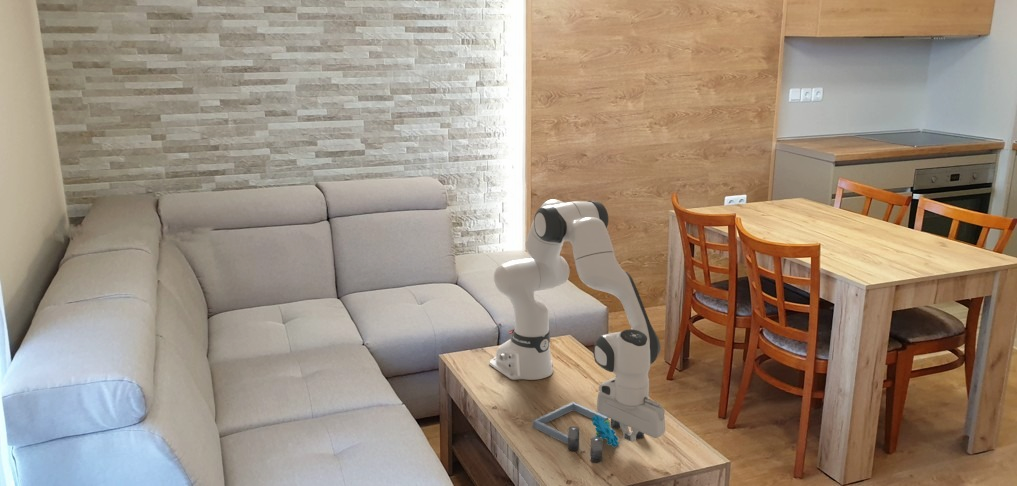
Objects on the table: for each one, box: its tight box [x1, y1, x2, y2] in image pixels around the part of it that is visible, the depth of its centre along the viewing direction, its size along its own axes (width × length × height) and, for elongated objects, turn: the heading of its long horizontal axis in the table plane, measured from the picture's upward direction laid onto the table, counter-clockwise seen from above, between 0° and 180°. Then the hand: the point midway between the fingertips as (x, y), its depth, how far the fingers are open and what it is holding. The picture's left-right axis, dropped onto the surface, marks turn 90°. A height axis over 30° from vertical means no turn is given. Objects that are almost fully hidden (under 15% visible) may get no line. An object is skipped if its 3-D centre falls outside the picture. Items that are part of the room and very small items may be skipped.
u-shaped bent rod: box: [532, 401, 609, 445], centre depth 222 cm, size 14×17×2 cm
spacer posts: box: [567, 418, 645, 464], centre depth 212 cm, size 11×21×6 cm, turn 133°
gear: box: [591, 415, 620, 448], centre depth 213 cm, size 11×6×10 cm
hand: (629, 439), depth 207 cm, fingers closed
